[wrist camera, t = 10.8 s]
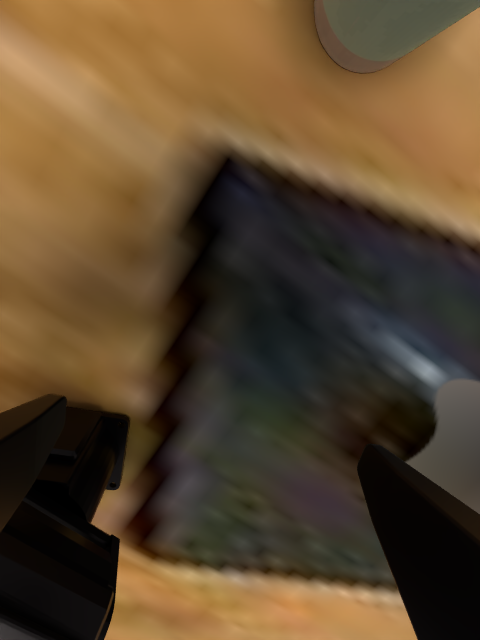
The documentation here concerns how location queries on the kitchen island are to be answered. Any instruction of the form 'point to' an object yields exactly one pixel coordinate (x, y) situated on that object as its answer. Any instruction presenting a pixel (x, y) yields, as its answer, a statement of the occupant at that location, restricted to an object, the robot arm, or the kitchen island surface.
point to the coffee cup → (382, 28)
